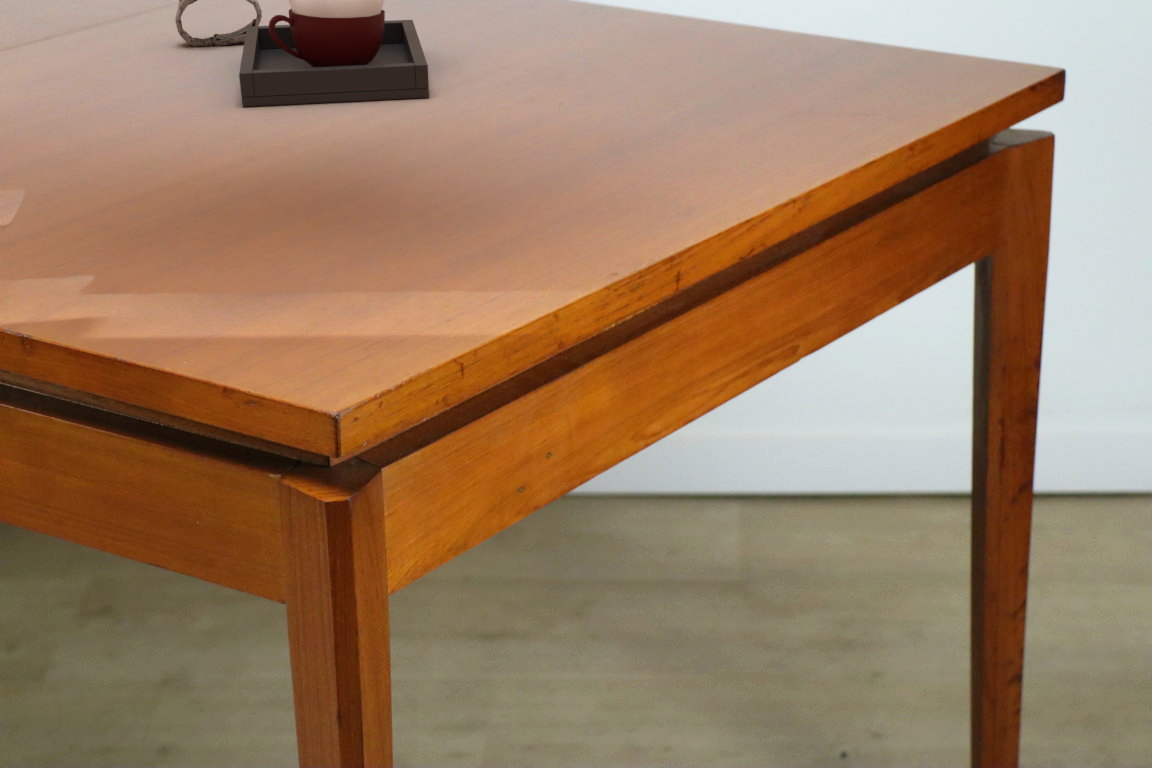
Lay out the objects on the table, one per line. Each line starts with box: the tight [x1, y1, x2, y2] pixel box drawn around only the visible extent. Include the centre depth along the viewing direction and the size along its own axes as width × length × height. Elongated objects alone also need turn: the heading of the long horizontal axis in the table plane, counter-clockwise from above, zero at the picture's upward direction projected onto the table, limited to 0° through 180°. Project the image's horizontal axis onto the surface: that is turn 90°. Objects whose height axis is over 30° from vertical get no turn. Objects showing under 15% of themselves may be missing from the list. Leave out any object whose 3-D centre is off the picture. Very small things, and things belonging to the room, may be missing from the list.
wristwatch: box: [174, 0, 263, 48], centre depth 110 cm, size 4×6×5 cm, turn 99°
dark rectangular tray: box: [238, 19, 430, 108], centre depth 101 cm, size 12×15×2 cm
